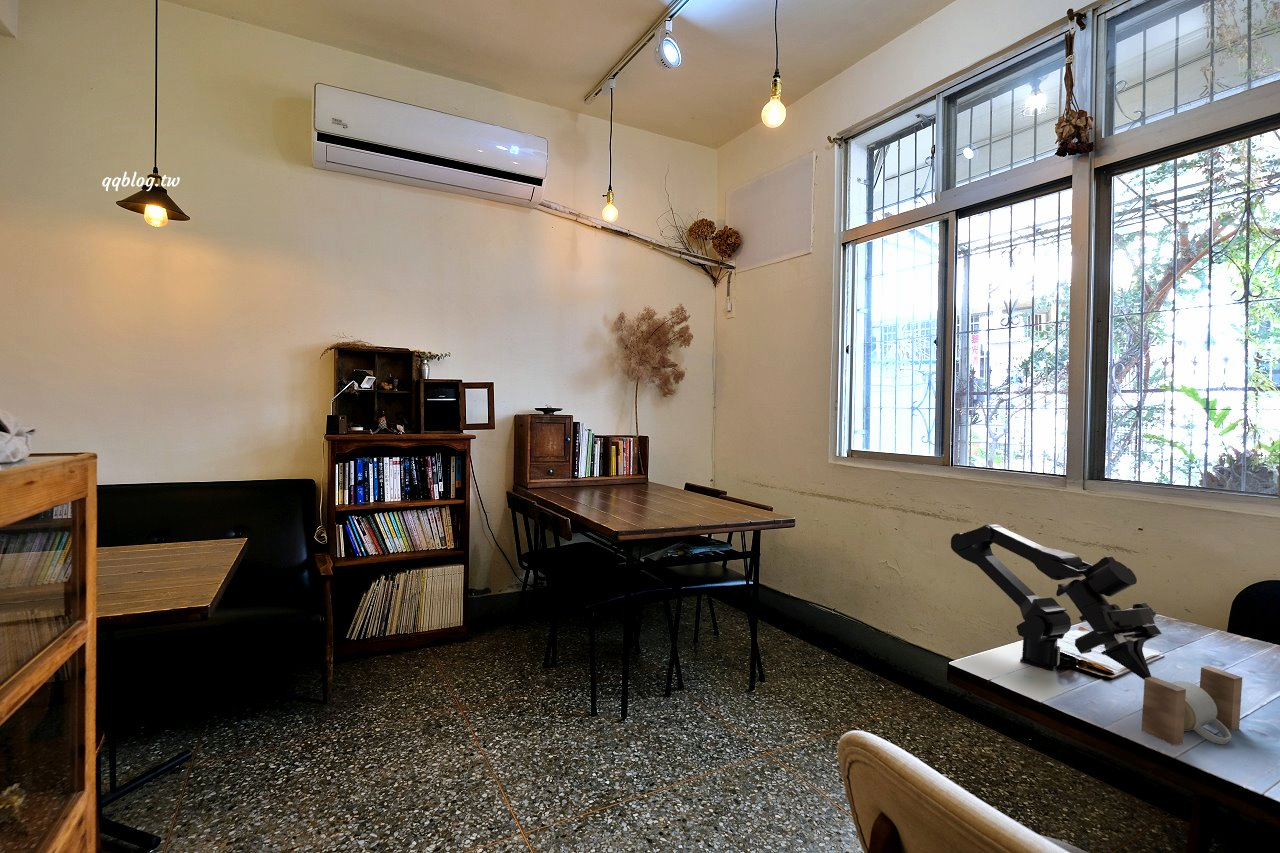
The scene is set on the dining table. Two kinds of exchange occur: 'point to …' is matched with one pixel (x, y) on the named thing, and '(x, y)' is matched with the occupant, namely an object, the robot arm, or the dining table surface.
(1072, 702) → the dining table surface
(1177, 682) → the ceramic mug
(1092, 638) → the robot arm
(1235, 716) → the walnut bookends
